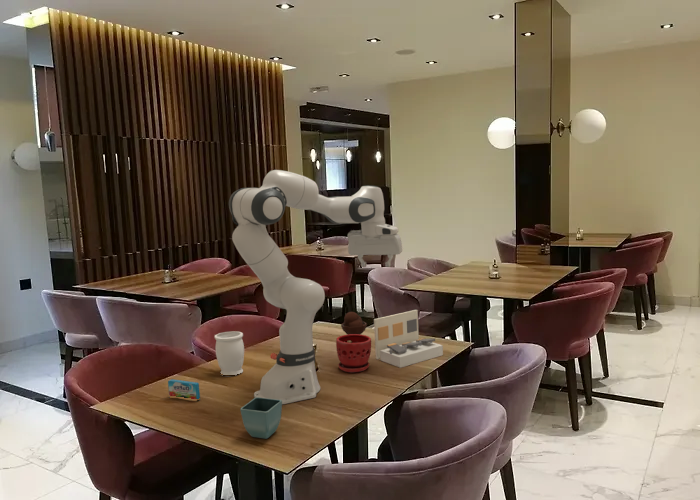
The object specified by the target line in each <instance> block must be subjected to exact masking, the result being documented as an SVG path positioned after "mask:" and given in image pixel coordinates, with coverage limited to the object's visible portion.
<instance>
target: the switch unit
mask: <svg viewBox="0 0 700 500" xmlns="http://www.w3.org/2000/svg"><path fill="white" fill-rule="evenodd" d="M418 311H419V310H418V309H413V310H409V311H405V312H400V313H396V314H391V315H387V316H383V317H378V318H374V319H373V326H374V327H373V328H374V329H373V330H374V345H375V347H374V348H375V351H374V352H375V360H380V361H381V362H383V363H386V364H388V365H389V364H390V365H391V366H395V367H397V368H399V369H402V368H406V367H407V366H411V365H415V364H418V363H421V362H425V361H427V360H431V359H435V358H439V357H441V356H443V355H444V347H443V346H444V345H443V344H439V343H436V342H434V341H433V342H429V343H421V341H419V342H418V343H421V345H418V346H415V347H408V346H407V345H404V346H402V344H403V343H407V342H416V340H418V339H420V337H419V316H418ZM429 339H433V338H429ZM393 343H396V344H397V345H399V346H401V347H403V348H404V349H406V350H407V352H404V353H400V354H398V353H396V352H394V351H393V350H392V349H389V348H388V347H387V345H389V344H393Z"/></svg>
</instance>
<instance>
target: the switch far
mask: <svg viewBox="0 0 700 500" xmlns="http://www.w3.org/2000/svg"><path fill="white" fill-rule="evenodd" d="M419 341H421V343H429V342H433V343H434V342H436V339H435V338H432V339H430V338H425V337H423V338H419V339H418V340H416V342H419Z"/></svg>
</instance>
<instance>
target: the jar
mask: <svg viewBox="0 0 700 500" xmlns="http://www.w3.org/2000/svg"><path fill="white" fill-rule="evenodd" d="M243 337H244V333H243V332H241V331H236V330H235V331H234V330H233V331H224V332H219V333H217V334H214V339H215V340H216V342H215V357H216V359H217V364H218V367H219V368H220V370H221V371H220V373H221V374H223V375H235V376H238V375H237V374H239V375H241V374H242V373H243V372H244V369H243V368H242V367H243V364H244V356H245V346H244V345H245V343H244V341H243ZM240 373H241V374H240ZM221 374H220V375H221ZM223 375H222V376H223Z"/></svg>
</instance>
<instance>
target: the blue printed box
mask: <svg viewBox="0 0 700 500" xmlns="http://www.w3.org/2000/svg"><path fill="white" fill-rule="evenodd" d="M167 385H168V386H167V387H168V396H169V395H170V396H176V397H184V398H191V399H199V398H200V399H201V393H200V383H199V382H196V381H188V380H181V379H180V380H179V379H173V378H172V379H169V380H168V381H167Z"/></svg>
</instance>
